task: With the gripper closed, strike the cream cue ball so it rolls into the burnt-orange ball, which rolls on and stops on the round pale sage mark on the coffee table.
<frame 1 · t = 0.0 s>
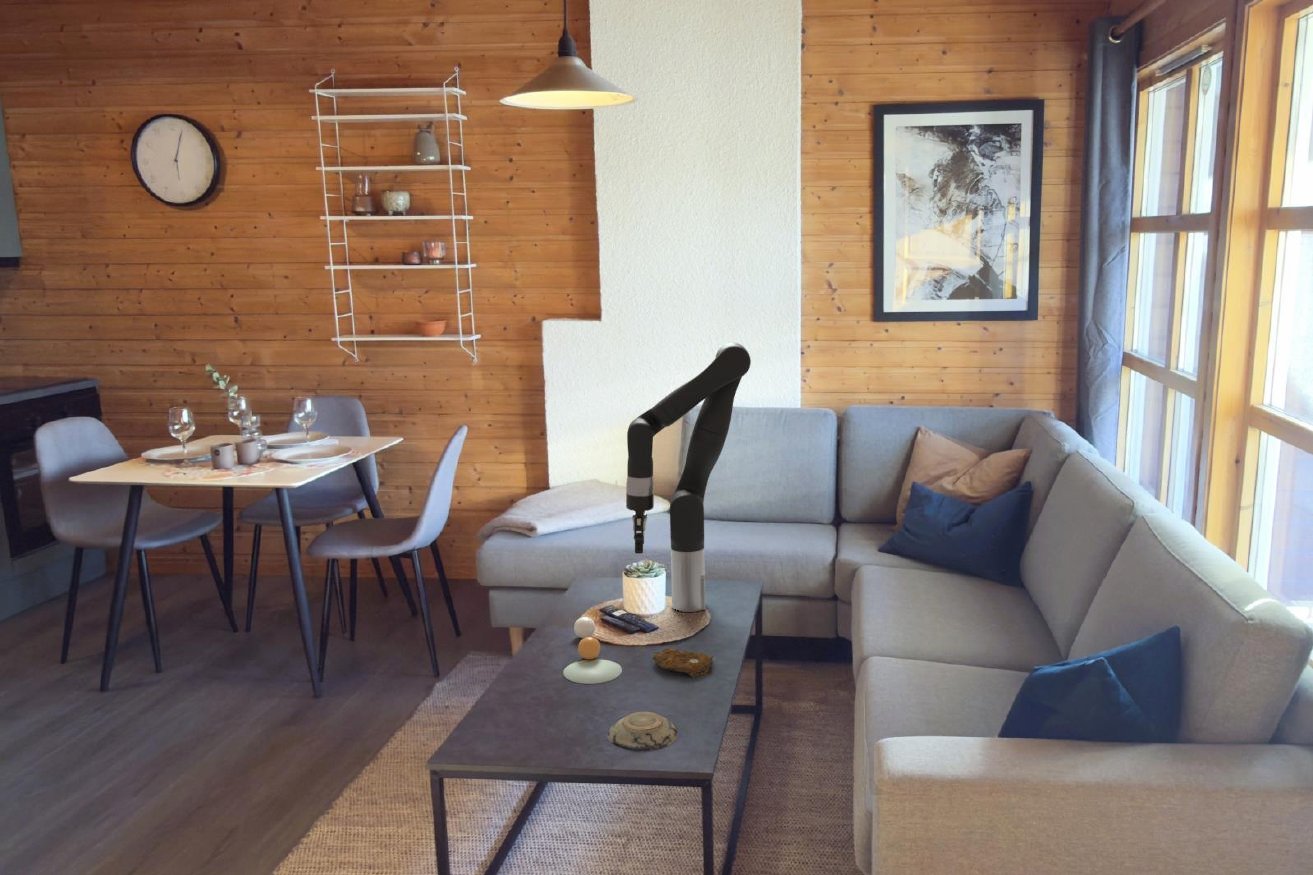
hand: (639, 548, 291), 17 cm above the table, tool pointing down, fingers open, 8 cm apart
decorative rock: (681, 670, 253), on the table
decorative bowl: (643, 737, 219), on the table
object ball: (589, 648, 259), on the table
cue ball: (584, 627, 272), on the table
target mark: (592, 671, 251), on the table
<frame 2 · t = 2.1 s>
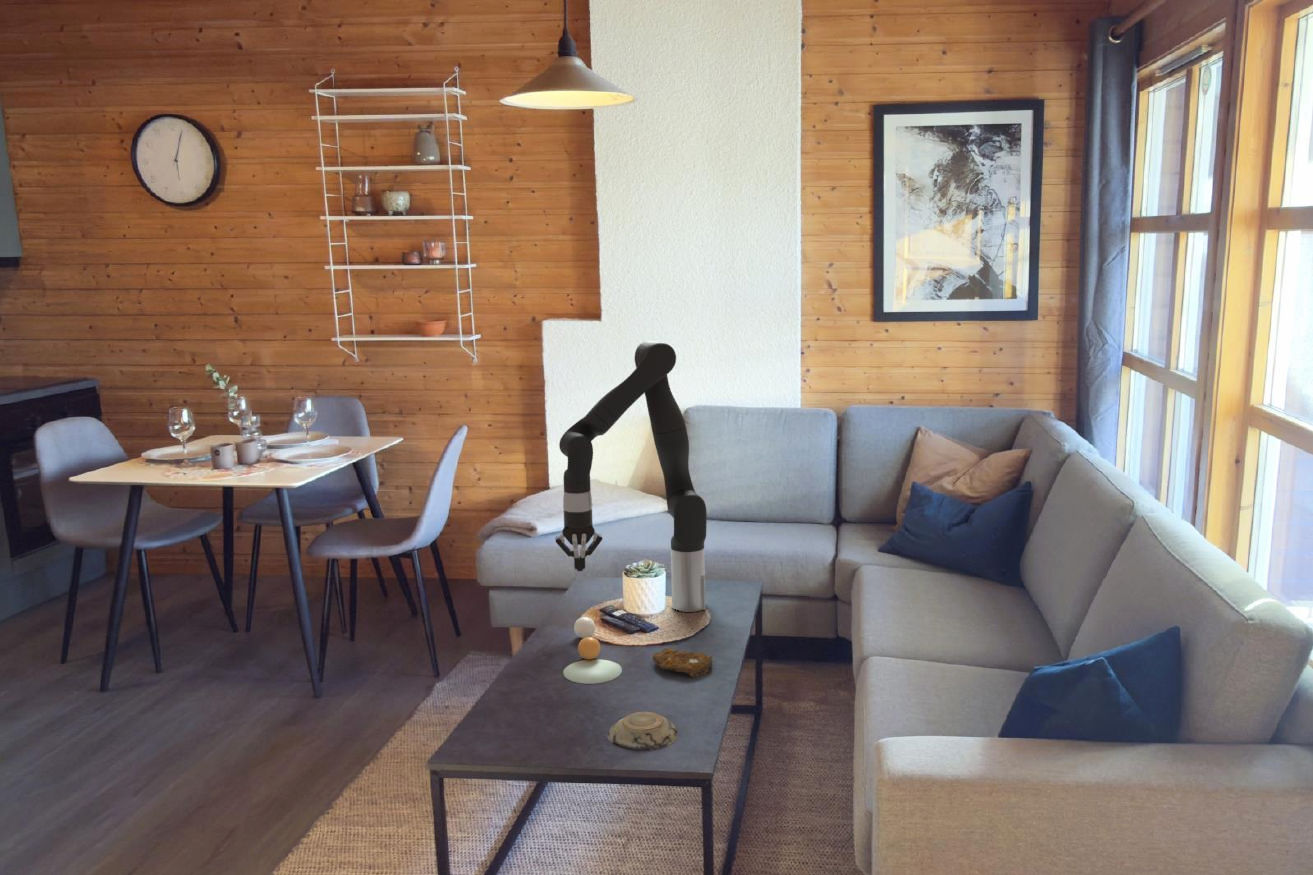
hand: (579, 570, 280), 15 cm above the table, tool pointing down, fingers closed
nothing on the table moved.
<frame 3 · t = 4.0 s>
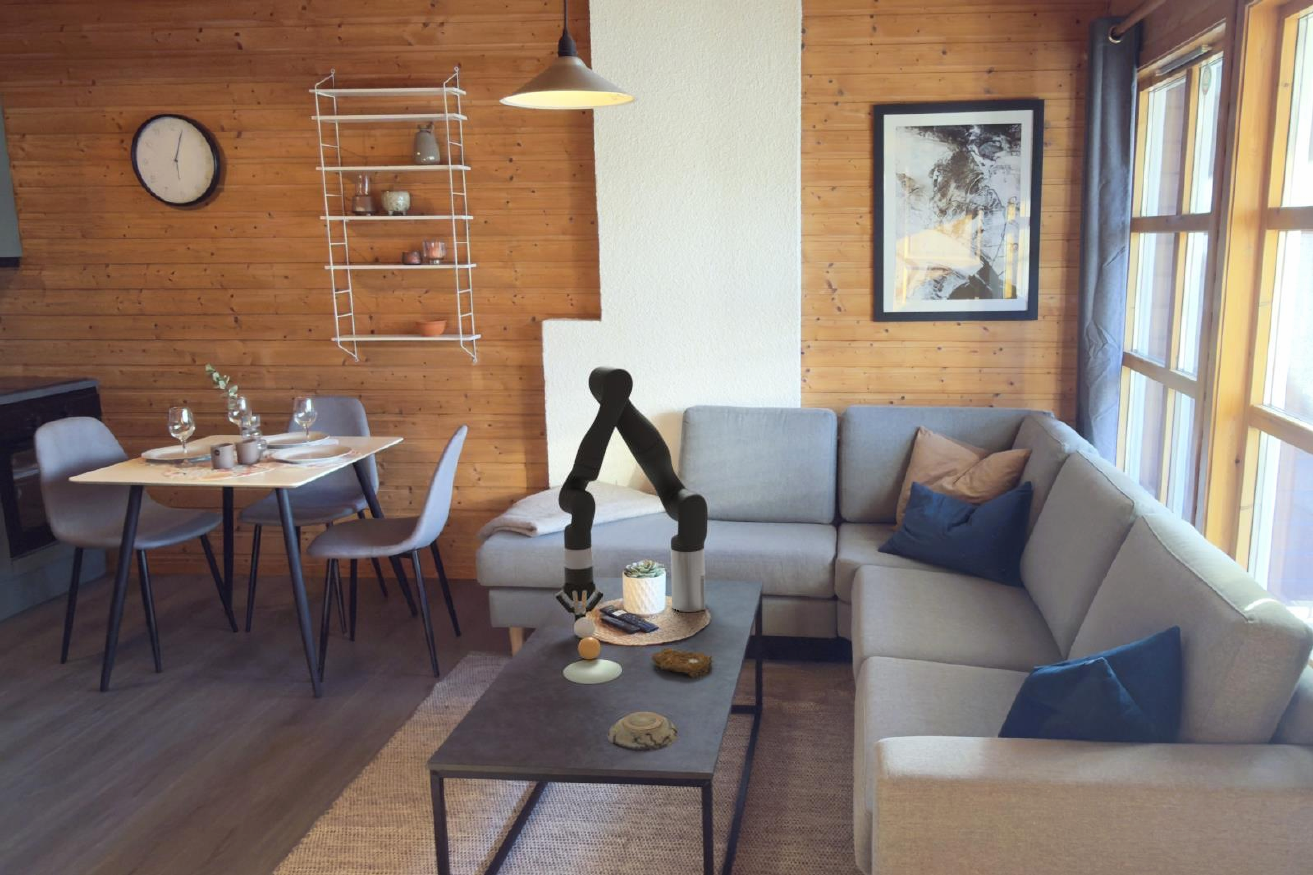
hand: (580, 626, 276), 2 cm above the table, tool pointing down, fingers closed
cue ball: (584, 627, 272), on the table, touching gripper
everything else where it was.
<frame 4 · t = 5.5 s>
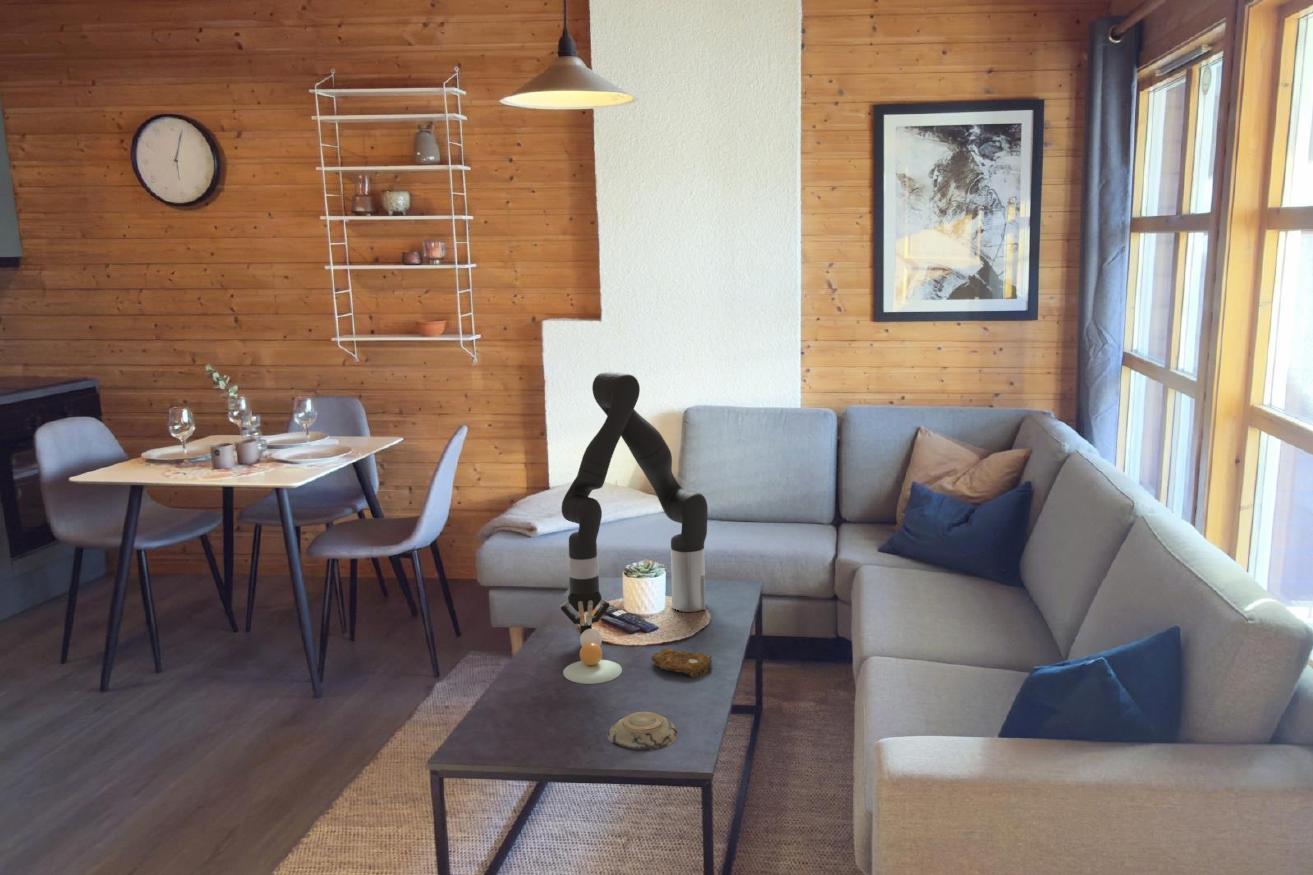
hand: (586, 637, 269), 2 cm above the table, tool pointing down, fingers closed
object ball: (590, 654, 255), on the table
cue ball: (590, 639, 264), on the table
everything else where it was.
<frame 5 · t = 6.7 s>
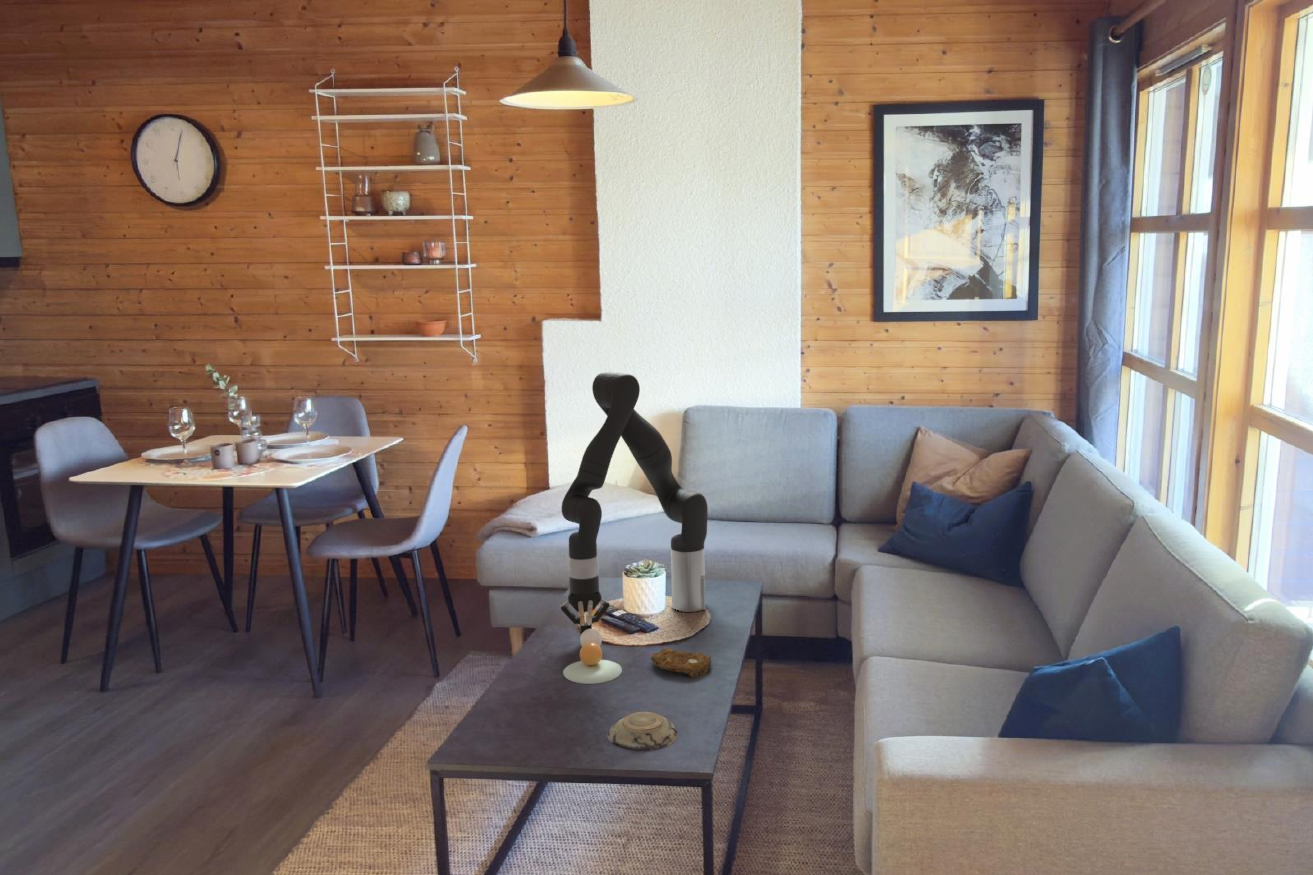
hand: (586, 637, 269), 2 cm above the table, tool pointing down, fingers closed
nothing on the table moved.
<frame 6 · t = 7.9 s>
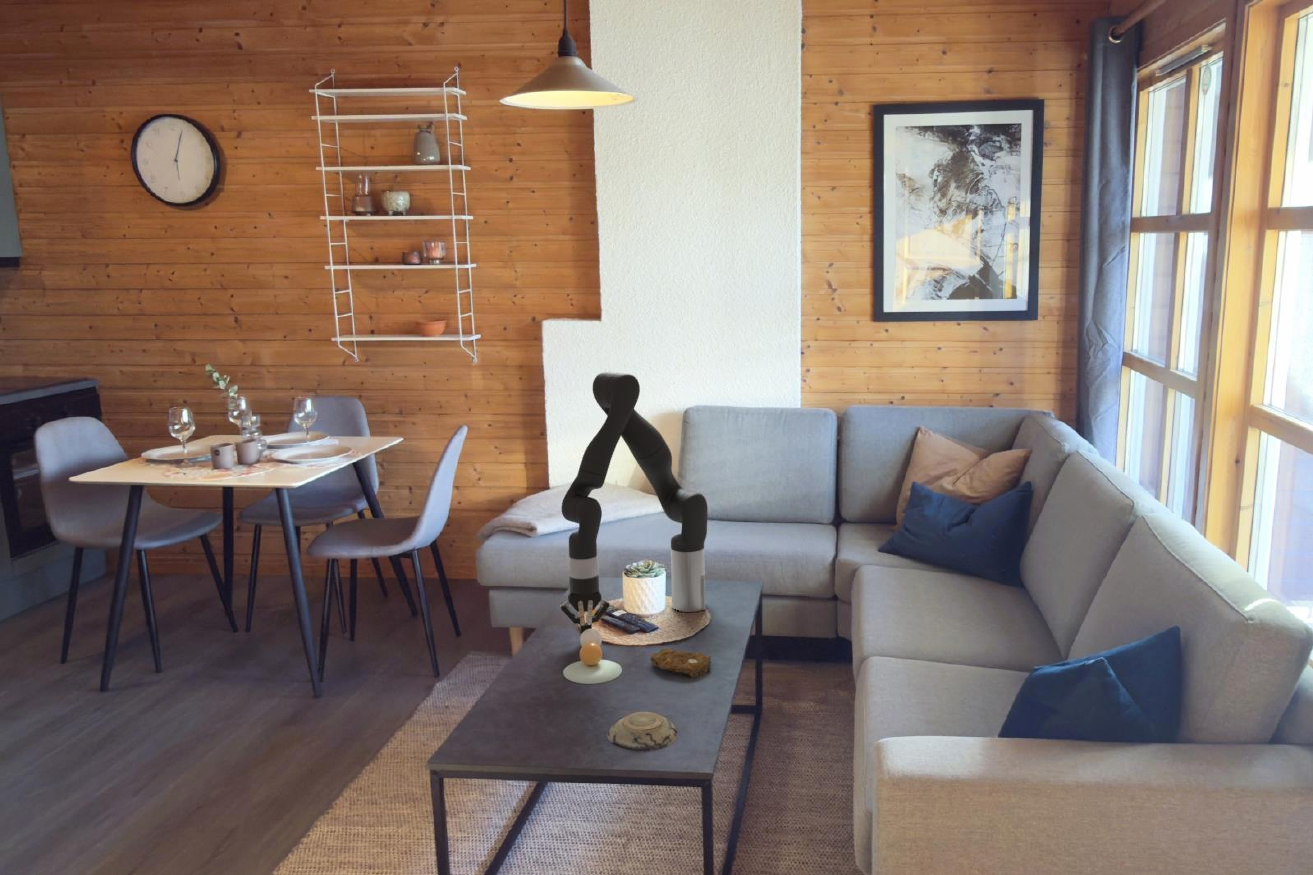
hand: (586, 637, 269), 2 cm above the table, tool pointing down, fingers closed
nothing on the table moved.
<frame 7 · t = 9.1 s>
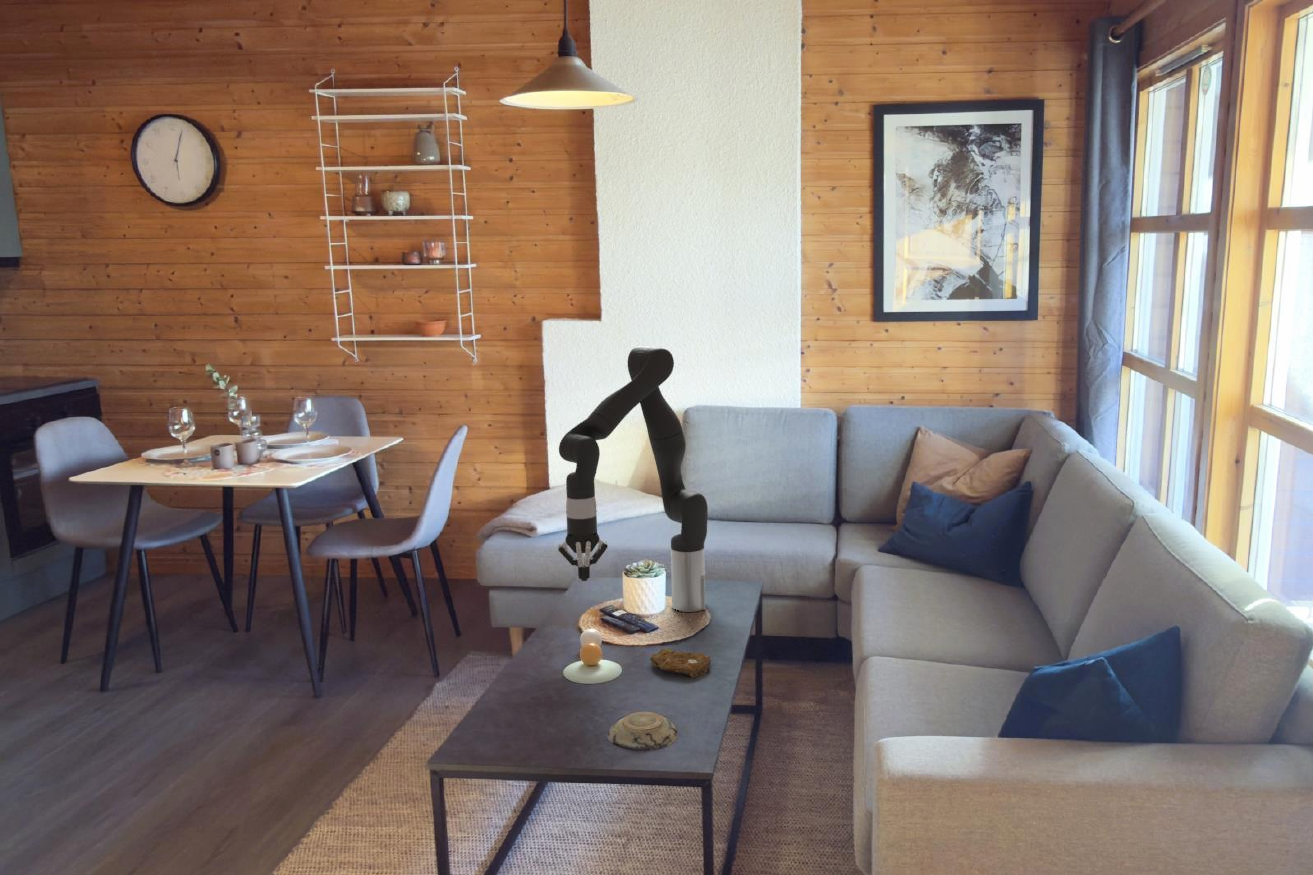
hand: (584, 580, 266), 17 cm above the table, tool pointing down, fingers closed
nothing on the table moved.
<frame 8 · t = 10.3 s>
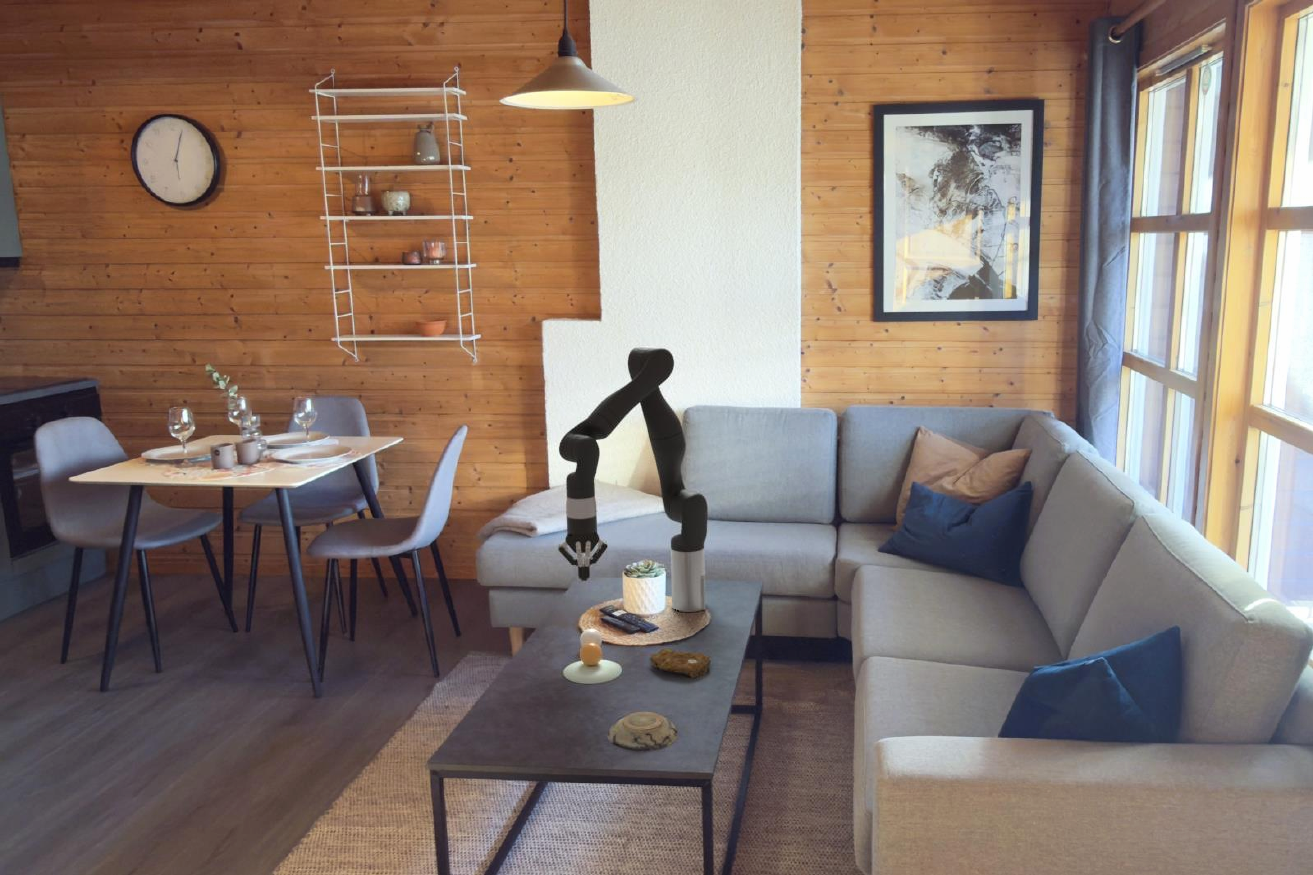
hand: (584, 579, 266), 17 cm above the table, tool pointing down, fingers closed
nothing on the table moved.
at the end: object ball 4.2 cm from the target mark (horizontally); object ball never touched the robot; cue ball first touched object ball at 4.4 s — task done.
